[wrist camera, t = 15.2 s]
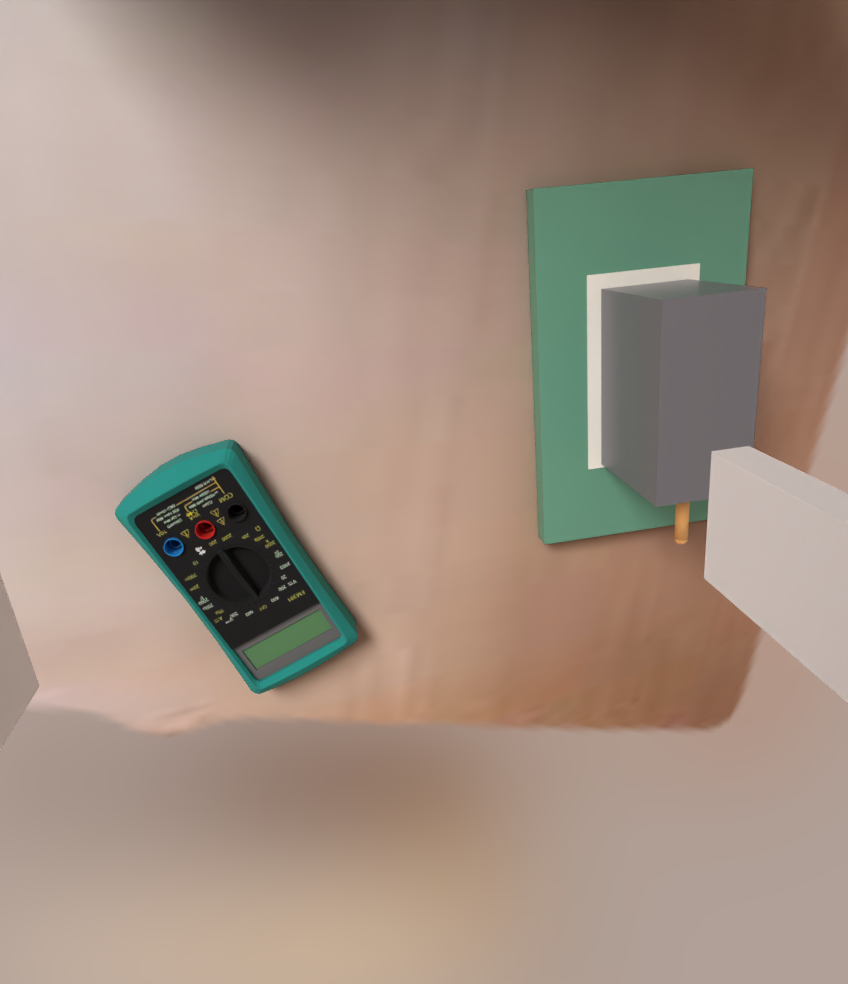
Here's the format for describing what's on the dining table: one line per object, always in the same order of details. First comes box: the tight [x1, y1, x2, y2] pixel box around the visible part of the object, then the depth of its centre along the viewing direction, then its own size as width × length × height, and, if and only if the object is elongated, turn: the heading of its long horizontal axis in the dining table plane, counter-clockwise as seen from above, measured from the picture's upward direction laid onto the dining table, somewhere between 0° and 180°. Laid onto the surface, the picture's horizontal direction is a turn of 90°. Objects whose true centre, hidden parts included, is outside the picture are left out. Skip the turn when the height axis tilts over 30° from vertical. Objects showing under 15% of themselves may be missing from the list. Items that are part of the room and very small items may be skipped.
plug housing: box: [601, 279, 767, 544], centre depth 37 cm, size 13×5×7 cm, turn 5°
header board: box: [526, 168, 754, 544], centre depth 38 cm, size 20×12×5 cm, turn 5°
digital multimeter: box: [115, 440, 357, 694], centre depth 40 cm, size 7×15×3 cm, turn 28°
